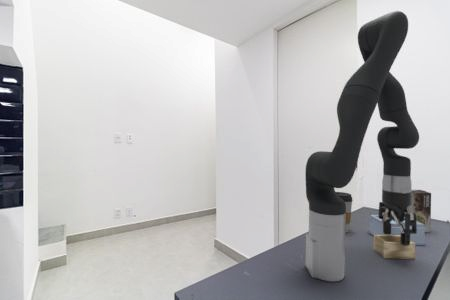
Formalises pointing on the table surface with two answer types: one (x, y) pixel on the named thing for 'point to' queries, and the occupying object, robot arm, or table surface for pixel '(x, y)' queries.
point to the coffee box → (421, 207)
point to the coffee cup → (348, 201)
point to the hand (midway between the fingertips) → (395, 239)
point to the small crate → (393, 247)
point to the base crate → (396, 229)
